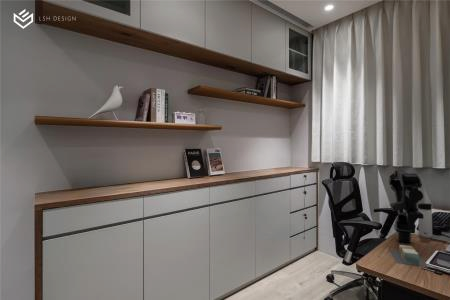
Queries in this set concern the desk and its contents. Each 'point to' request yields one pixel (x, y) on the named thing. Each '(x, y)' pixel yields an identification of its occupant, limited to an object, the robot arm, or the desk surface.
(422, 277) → the desk surface
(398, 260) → the mat
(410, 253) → the ash block
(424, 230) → the travel mug
